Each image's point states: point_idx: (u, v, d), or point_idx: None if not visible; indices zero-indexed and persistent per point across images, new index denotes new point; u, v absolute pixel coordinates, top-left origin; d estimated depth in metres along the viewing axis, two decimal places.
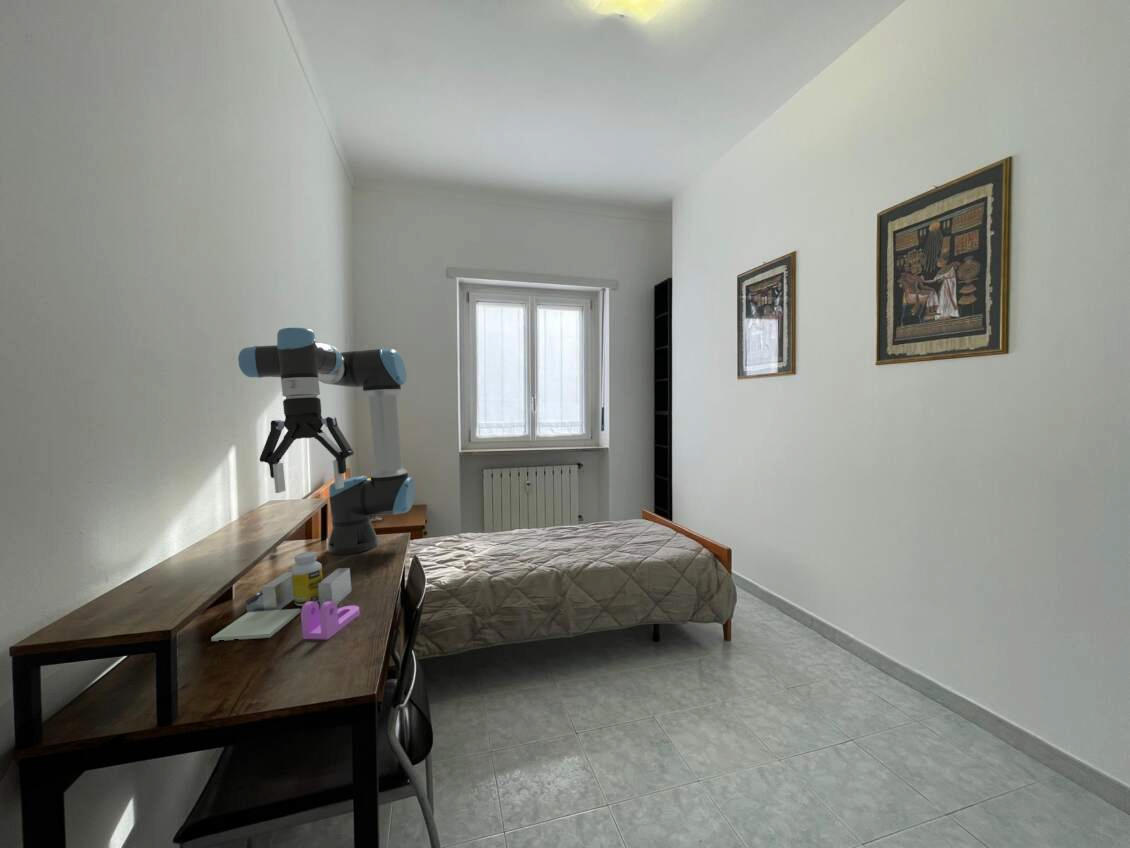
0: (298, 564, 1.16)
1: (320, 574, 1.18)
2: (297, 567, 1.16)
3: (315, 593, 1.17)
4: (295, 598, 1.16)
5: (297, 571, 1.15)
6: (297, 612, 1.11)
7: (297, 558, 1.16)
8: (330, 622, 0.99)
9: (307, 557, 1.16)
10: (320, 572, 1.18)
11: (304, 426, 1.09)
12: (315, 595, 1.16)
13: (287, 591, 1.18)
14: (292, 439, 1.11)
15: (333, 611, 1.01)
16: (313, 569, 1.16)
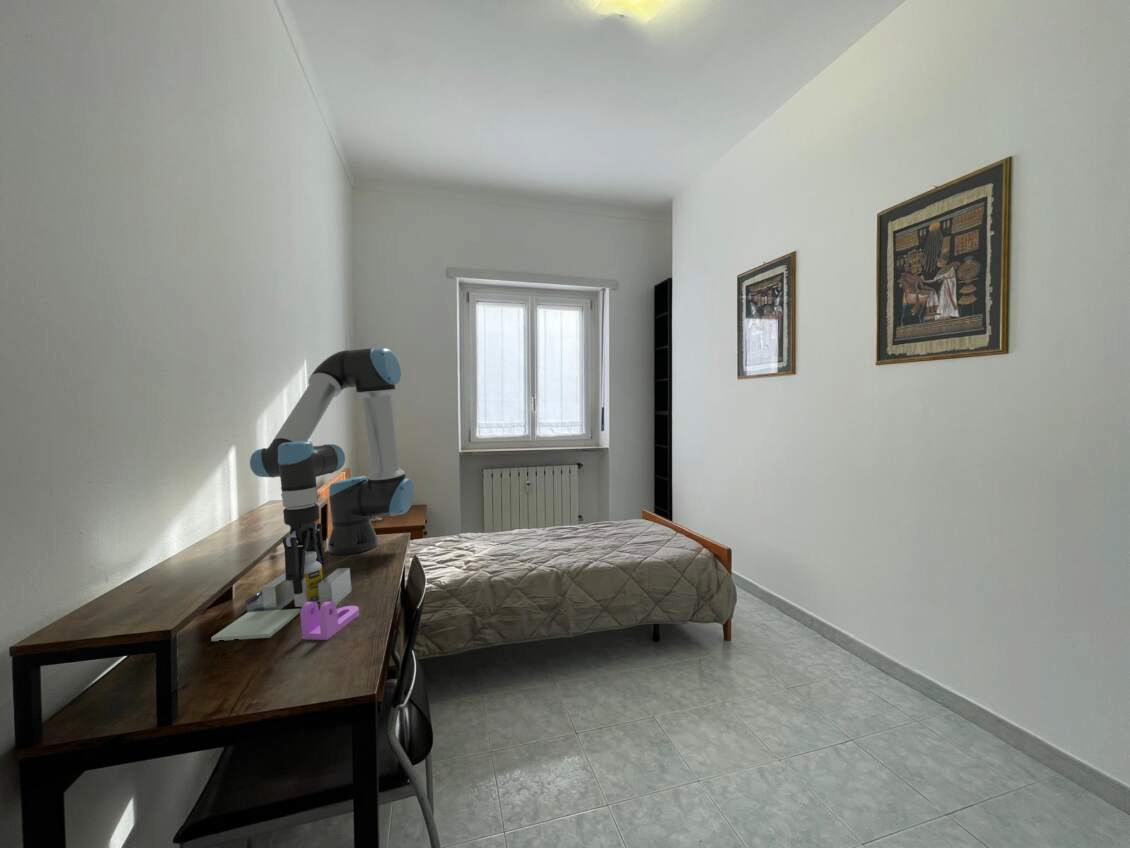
0: None
1: (320, 574, 1.18)
2: None
3: (315, 593, 1.17)
4: None
5: None
6: (297, 612, 1.11)
7: None
8: (329, 622, 0.99)
9: (307, 557, 1.16)
10: (320, 572, 1.18)
11: None
12: (315, 595, 1.17)
13: (287, 591, 1.18)
14: (308, 543, 1.20)
15: (333, 611, 1.00)
16: (313, 569, 1.16)
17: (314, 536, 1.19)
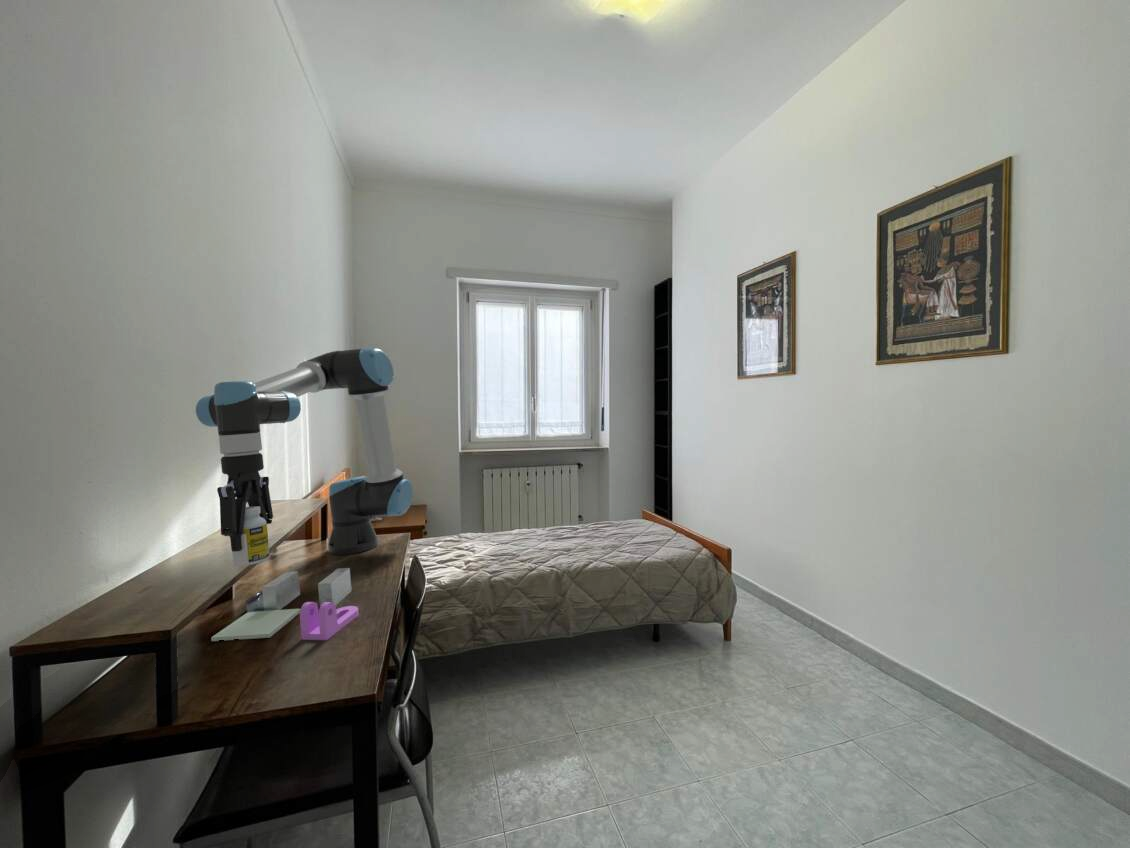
0: None
1: (264, 531, 1.05)
2: None
3: (257, 551, 1.04)
4: None
5: None
6: (297, 612, 1.11)
7: None
8: (329, 622, 0.99)
9: (248, 511, 1.03)
10: (264, 528, 1.06)
11: None
12: (257, 554, 1.04)
13: (287, 591, 1.18)
14: (252, 497, 1.07)
15: (332, 612, 1.00)
16: (255, 525, 1.04)
17: (258, 489, 1.07)
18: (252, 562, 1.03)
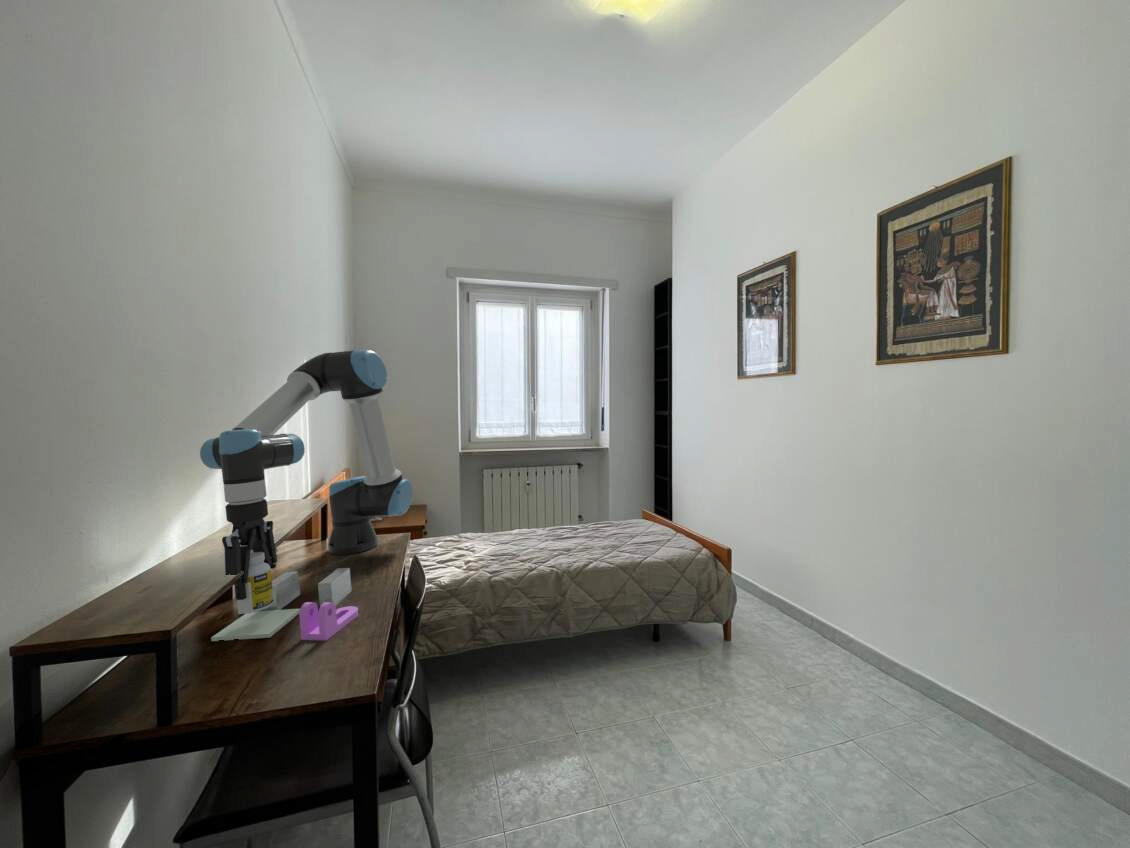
0: None
1: (268, 577, 1.06)
2: None
3: (262, 598, 1.04)
4: None
5: None
6: (297, 612, 1.11)
7: None
8: (329, 623, 0.99)
9: (252, 558, 1.04)
10: (268, 575, 1.06)
11: None
12: (261, 601, 1.04)
13: (287, 591, 1.18)
14: (256, 543, 1.07)
15: (332, 612, 1.00)
16: (259, 572, 1.04)
17: (262, 535, 1.07)
18: (256, 609, 1.04)
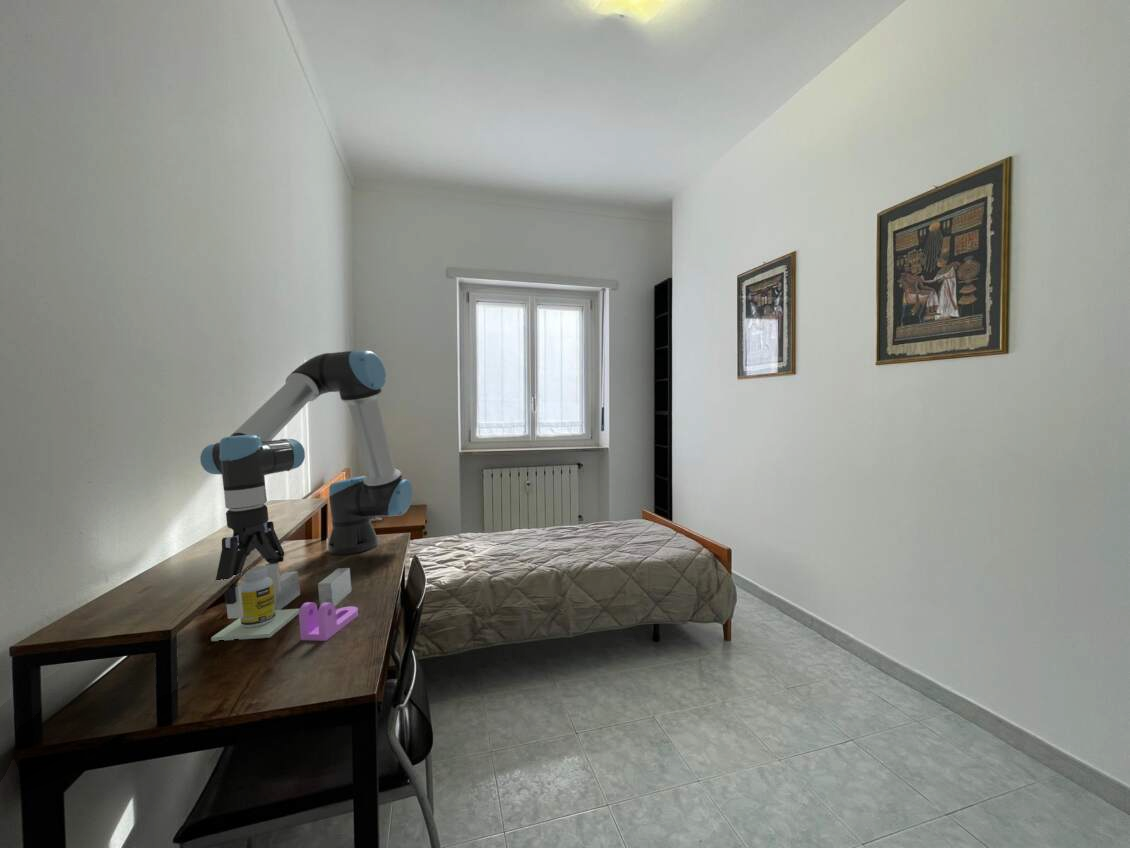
0: (245, 581, 1.04)
1: (270, 591, 1.06)
2: (244, 584, 1.04)
3: (264, 613, 1.05)
4: (241, 618, 1.04)
5: (243, 589, 1.03)
6: (297, 612, 1.11)
7: (244, 574, 1.04)
8: (328, 623, 0.99)
9: (255, 573, 1.04)
10: (270, 589, 1.06)
11: None
12: (263, 615, 1.05)
13: (287, 591, 1.18)
14: (259, 545, 1.09)
15: (331, 612, 1.00)
16: (262, 586, 1.05)
17: (264, 539, 1.08)
18: (259, 624, 1.04)
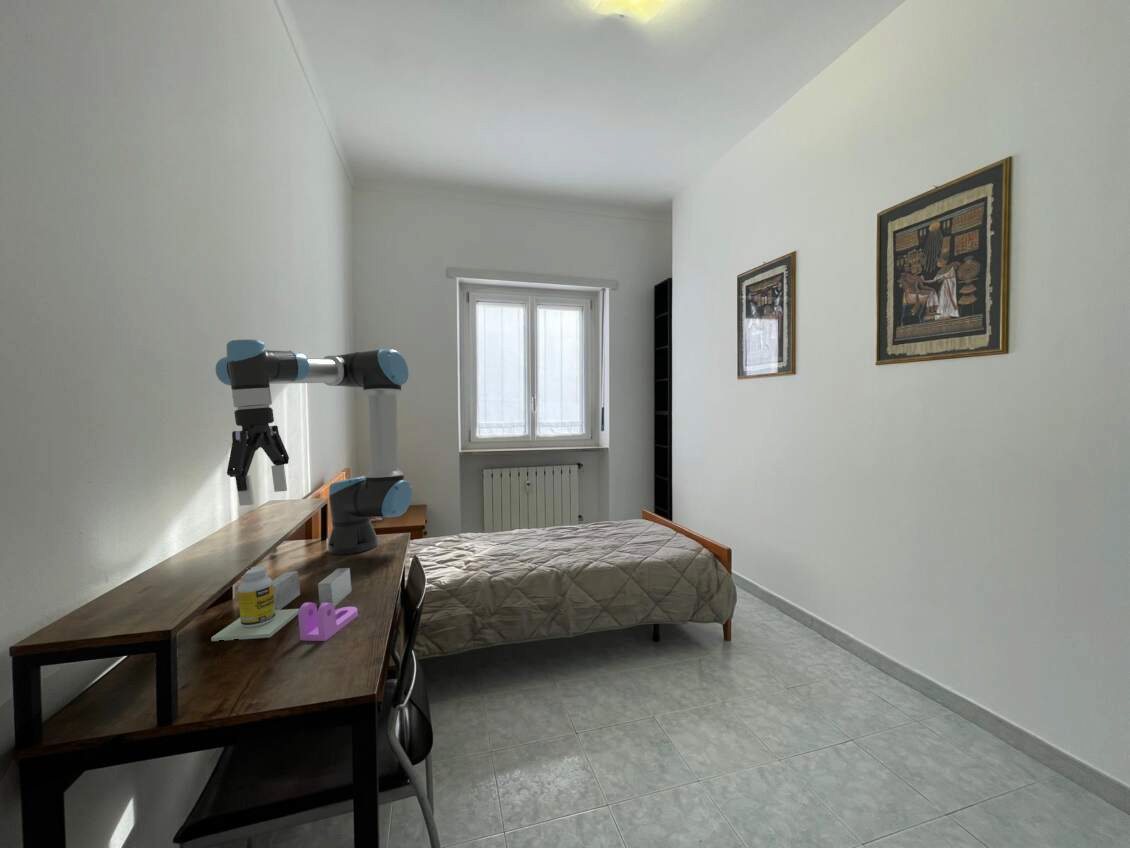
0: (245, 581, 1.04)
1: (270, 591, 1.06)
2: (243, 584, 1.04)
3: (264, 613, 1.05)
4: (241, 618, 1.04)
5: (243, 589, 1.03)
6: (297, 612, 1.11)
7: None
8: (328, 623, 0.99)
9: (255, 573, 1.04)
10: (270, 589, 1.06)
11: None
12: (263, 615, 1.05)
13: (287, 591, 1.18)
14: (266, 446, 1.17)
15: (331, 612, 1.00)
16: (262, 586, 1.05)
17: (270, 439, 1.16)
18: (259, 624, 1.04)
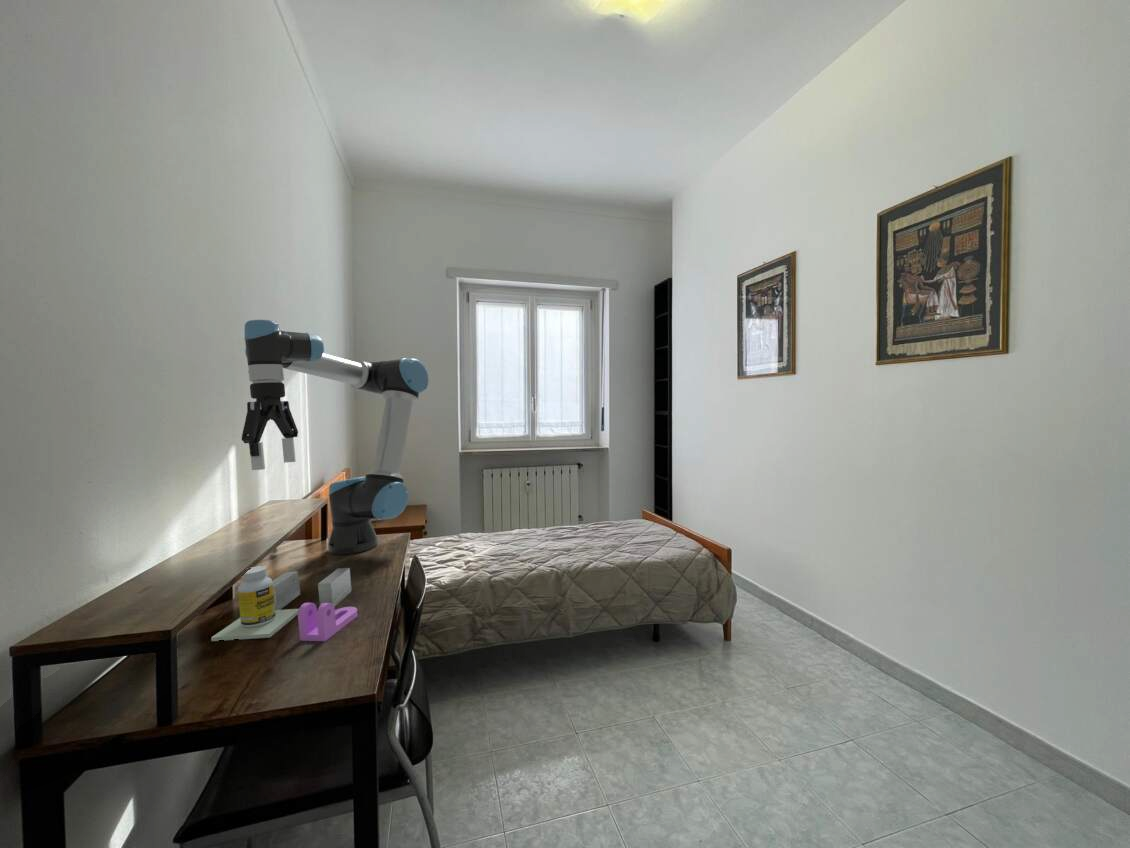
0: (245, 581, 1.04)
1: (270, 591, 1.06)
2: (243, 584, 1.04)
3: (264, 613, 1.05)
4: (241, 618, 1.04)
5: (243, 589, 1.03)
6: (297, 612, 1.11)
7: None
8: (327, 623, 0.99)
9: (255, 573, 1.04)
10: (270, 589, 1.06)
11: None
12: (263, 615, 1.05)
13: (287, 591, 1.18)
14: (277, 419, 1.27)
15: (330, 612, 1.00)
16: (262, 587, 1.05)
17: (281, 412, 1.26)
18: (259, 624, 1.04)
